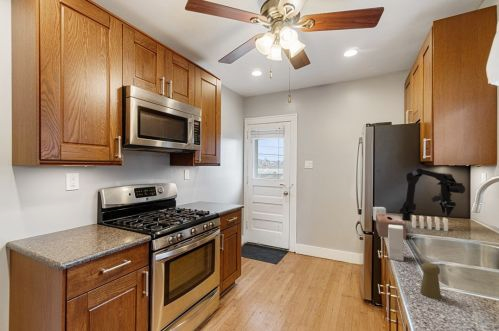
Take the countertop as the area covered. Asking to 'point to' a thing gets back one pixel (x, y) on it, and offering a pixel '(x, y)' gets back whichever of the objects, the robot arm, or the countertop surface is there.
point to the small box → (378, 211)
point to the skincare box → (395, 242)
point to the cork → (430, 281)
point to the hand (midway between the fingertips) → (445, 214)
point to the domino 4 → (445, 224)
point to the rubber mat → (426, 228)
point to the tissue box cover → (384, 222)
